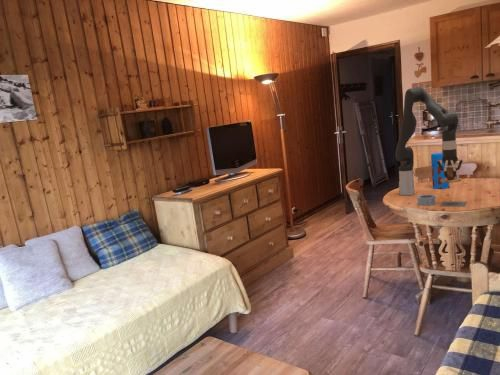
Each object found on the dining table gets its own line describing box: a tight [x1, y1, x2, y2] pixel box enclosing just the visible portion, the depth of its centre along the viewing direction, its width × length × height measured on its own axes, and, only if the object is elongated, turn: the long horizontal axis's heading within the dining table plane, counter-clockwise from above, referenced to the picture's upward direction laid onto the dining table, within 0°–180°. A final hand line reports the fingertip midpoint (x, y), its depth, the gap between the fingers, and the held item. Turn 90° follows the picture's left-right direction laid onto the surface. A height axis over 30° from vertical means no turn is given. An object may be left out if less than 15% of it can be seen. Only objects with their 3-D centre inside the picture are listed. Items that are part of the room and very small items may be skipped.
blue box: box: [430, 152, 450, 190], centre depth 276 cm, size 11×11×25 cm
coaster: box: [439, 200, 468, 208], centre depth 229 cm, size 13×13×1 cm
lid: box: [440, 166, 462, 184], centre depth 227 cm, size 11×11×8 cm
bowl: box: [416, 194, 437, 207], centre depth 237 cm, size 10×10×5 cm
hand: (450, 177), depth 227 cm, fingers closed on lid, 3 cm apart
